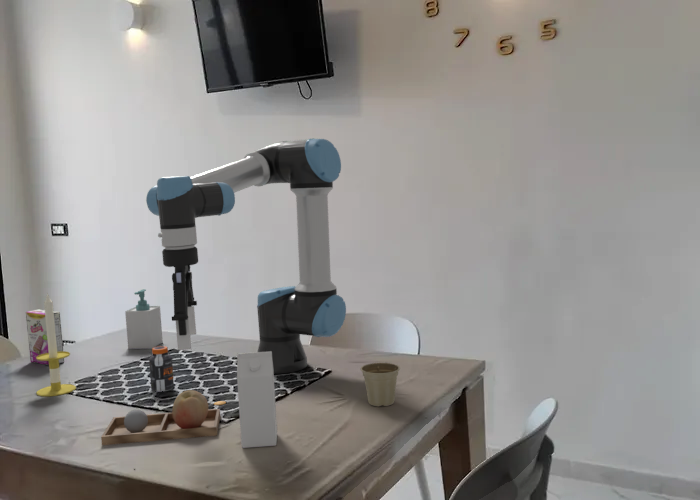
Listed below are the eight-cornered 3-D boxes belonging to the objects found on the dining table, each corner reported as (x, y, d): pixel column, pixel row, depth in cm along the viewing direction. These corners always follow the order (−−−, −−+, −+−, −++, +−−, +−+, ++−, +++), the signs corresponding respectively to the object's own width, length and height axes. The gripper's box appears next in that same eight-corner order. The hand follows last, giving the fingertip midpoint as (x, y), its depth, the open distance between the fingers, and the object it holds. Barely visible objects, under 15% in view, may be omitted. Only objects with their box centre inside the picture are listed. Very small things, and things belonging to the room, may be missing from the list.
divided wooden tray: (220, 418, 162) (219, 408, 162) (217, 437, 150) (216, 427, 150) (114, 427, 160) (113, 417, 159) (102, 447, 148) (101, 436, 147)
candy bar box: (29, 362, 223) (24, 311, 221) (43, 358, 227) (38, 308, 225) (51, 366, 217) (46, 314, 215) (65, 362, 221) (60, 311, 219)
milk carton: (243, 436, 151) (238, 349, 149) (277, 433, 151) (272, 347, 149) (241, 448, 144) (235, 358, 142) (276, 446, 144) (271, 355, 142)
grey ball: (150, 427, 157) (148, 405, 156) (146, 435, 152) (144, 412, 151) (127, 429, 156) (125, 407, 156) (122, 437, 151) (121, 414, 151)
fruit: (165, 432, 153) (162, 396, 153) (186, 419, 161) (184, 385, 160) (196, 435, 151) (193, 399, 150) (216, 422, 158) (214, 388, 157)
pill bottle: (167, 392, 184) (164, 350, 183) (147, 392, 186) (143, 350, 184) (177, 385, 190) (174, 344, 189) (157, 385, 191) (154, 344, 190)
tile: (232, 399, 176) (232, 397, 176) (230, 408, 169) (230, 406, 169) (191, 403, 175) (191, 401, 175) (188, 412, 168) (188, 410, 168)
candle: (84, 387, 193) (75, 290, 190) (55, 398, 184) (45, 296, 181) (57, 383, 197) (49, 289, 194) (27, 394, 188) (18, 295, 185)
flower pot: (405, 397, 172) (404, 363, 171) (395, 410, 163) (394, 374, 162) (368, 395, 175) (367, 361, 174) (356, 407, 166) (355, 372, 165)
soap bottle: (127, 349, 235) (123, 292, 233) (139, 342, 244) (135, 288, 242) (151, 349, 234) (147, 292, 232) (163, 342, 242) (158, 288, 240)
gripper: (168, 242, 166) (176, 330, 168) (154, 255, 141) (163, 357, 144) (201, 240, 167) (208, 327, 169) (192, 252, 142) (200, 354, 145)
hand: (187, 341), depth 156 cm, fingers open, 13 cm apart
